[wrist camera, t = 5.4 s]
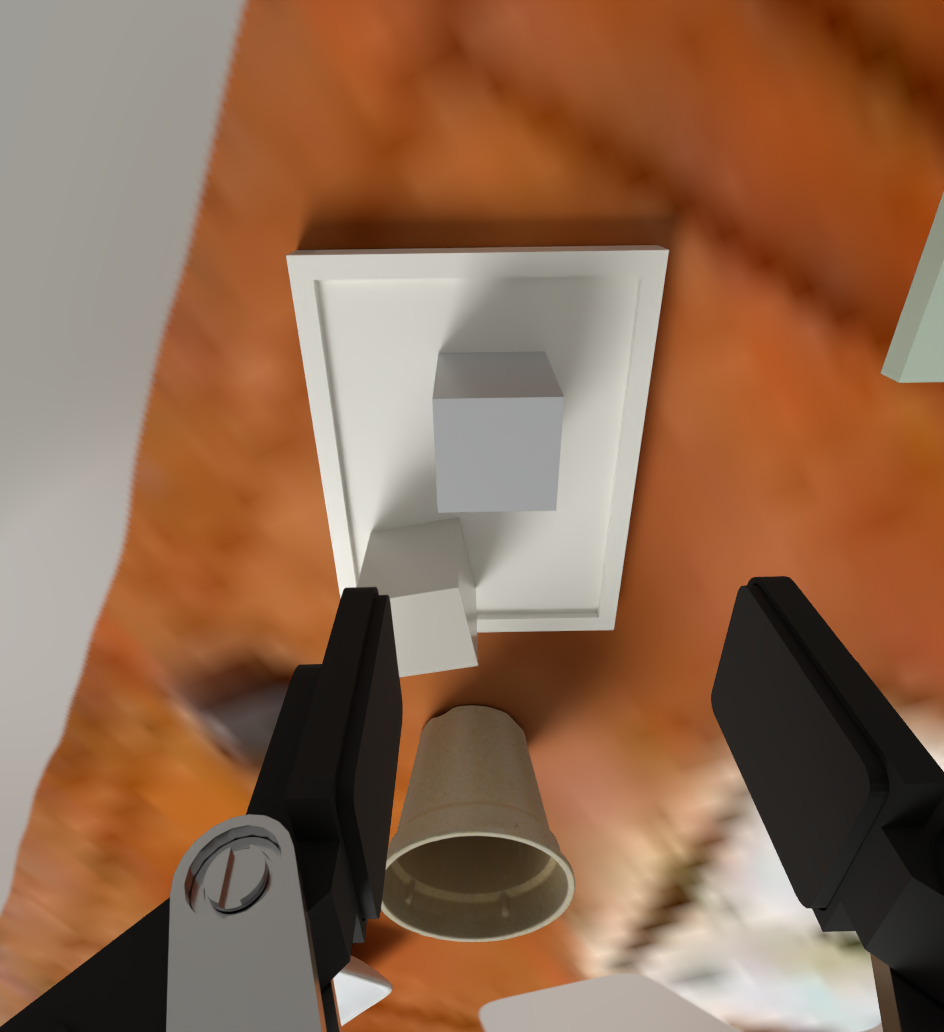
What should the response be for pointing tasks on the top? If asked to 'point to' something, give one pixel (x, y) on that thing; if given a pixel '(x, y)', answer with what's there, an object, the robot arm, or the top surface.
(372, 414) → the white dish
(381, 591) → the beige block
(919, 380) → the lid
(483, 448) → the grey block
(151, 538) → the top surface
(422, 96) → the top surface
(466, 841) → the flower pot
